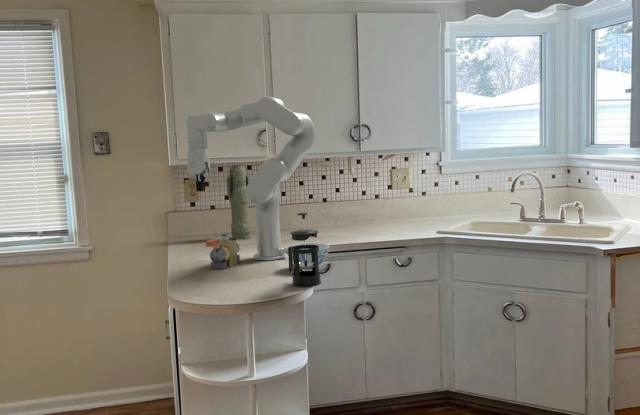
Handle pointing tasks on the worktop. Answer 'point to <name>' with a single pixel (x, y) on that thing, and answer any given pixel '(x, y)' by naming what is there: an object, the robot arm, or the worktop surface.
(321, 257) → the chinaware
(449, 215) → the worktop surface
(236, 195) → the green piece
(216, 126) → the robot arm
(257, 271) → the worktop surface
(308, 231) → the french press
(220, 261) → the ball valve
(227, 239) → the valve lever
